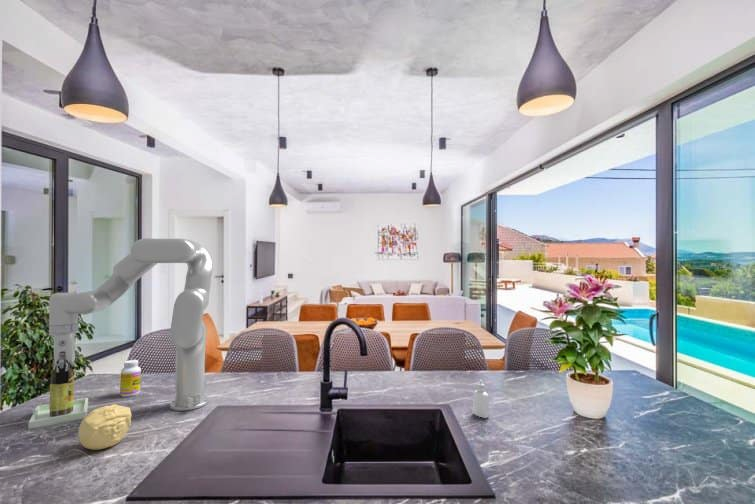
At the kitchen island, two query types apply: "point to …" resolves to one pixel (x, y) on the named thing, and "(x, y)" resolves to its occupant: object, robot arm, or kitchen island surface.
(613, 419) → the kitchen island surface
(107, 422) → the sculpture
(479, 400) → the eye dropper bottle
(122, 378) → the supplement bottle
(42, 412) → the tray
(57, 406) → the sauce bottle
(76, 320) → the robot arm
